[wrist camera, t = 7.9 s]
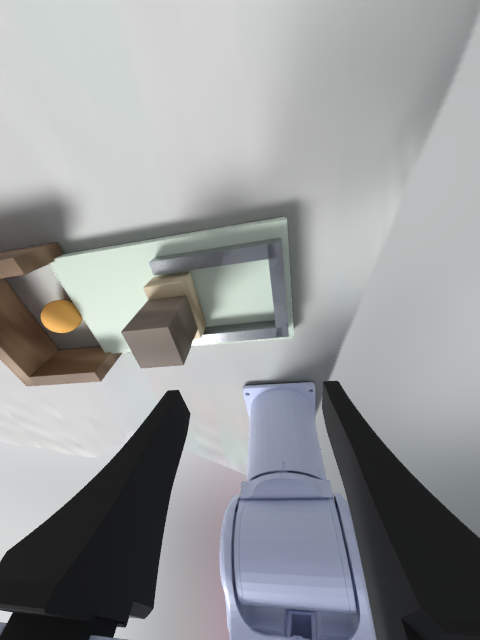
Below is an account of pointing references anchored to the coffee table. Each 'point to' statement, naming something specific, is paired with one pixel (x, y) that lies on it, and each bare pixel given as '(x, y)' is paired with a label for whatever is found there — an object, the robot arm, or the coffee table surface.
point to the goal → (40, 331)
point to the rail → (229, 256)
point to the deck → (210, 283)
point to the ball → (61, 316)
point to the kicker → (166, 322)
